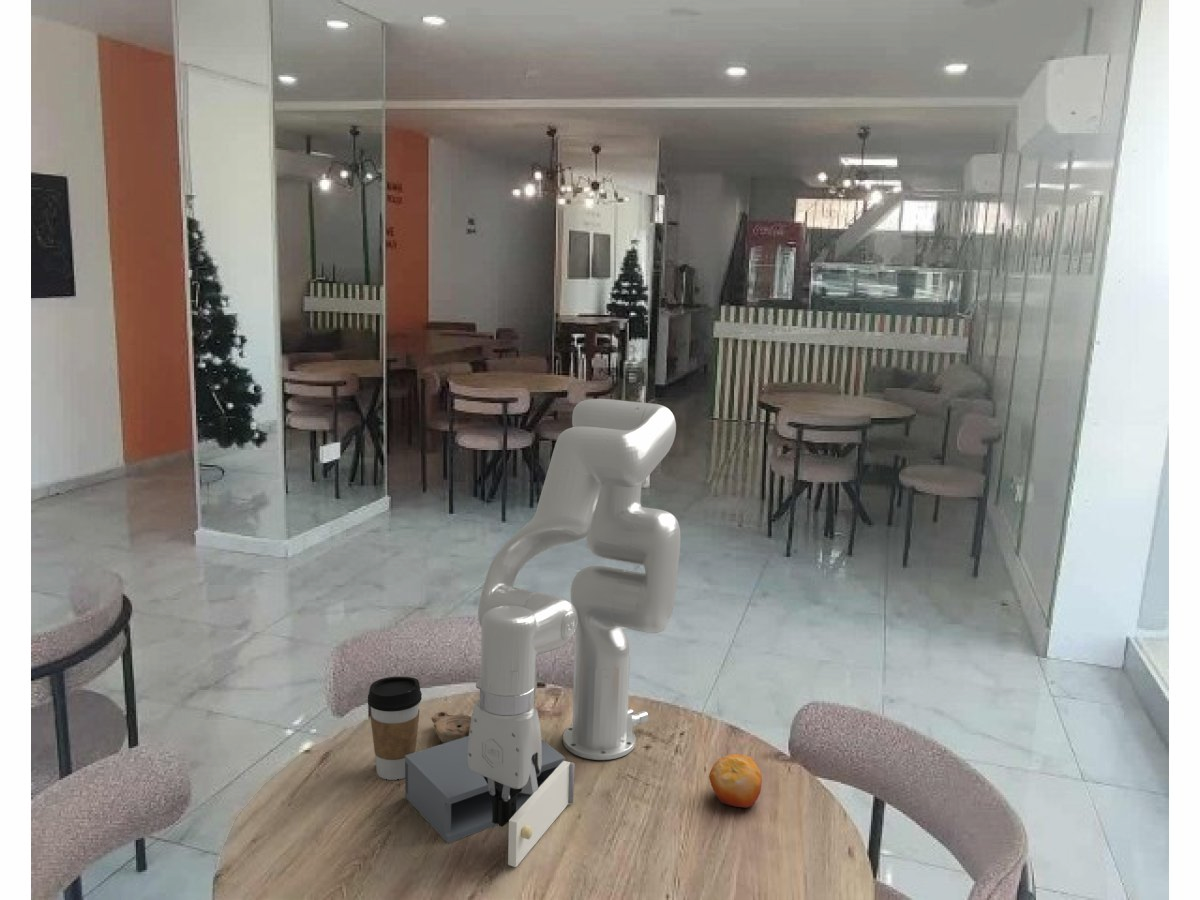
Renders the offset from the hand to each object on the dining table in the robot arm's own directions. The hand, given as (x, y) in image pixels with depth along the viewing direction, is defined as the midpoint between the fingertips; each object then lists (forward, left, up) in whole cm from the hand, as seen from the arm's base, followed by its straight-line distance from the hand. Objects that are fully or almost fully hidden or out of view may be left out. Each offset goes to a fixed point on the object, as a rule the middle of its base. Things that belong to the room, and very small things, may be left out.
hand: (503, 820), depth 126 cm
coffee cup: (+4, -27, -5) cm, 28 cm away
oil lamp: (-9, -30, -5) cm, 32 cm away
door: (-6, +1, -4) cm, 8 cm away
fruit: (-36, +10, -5) cm, 38 cm away
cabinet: (-4, -12, -4) cm, 13 cm away
